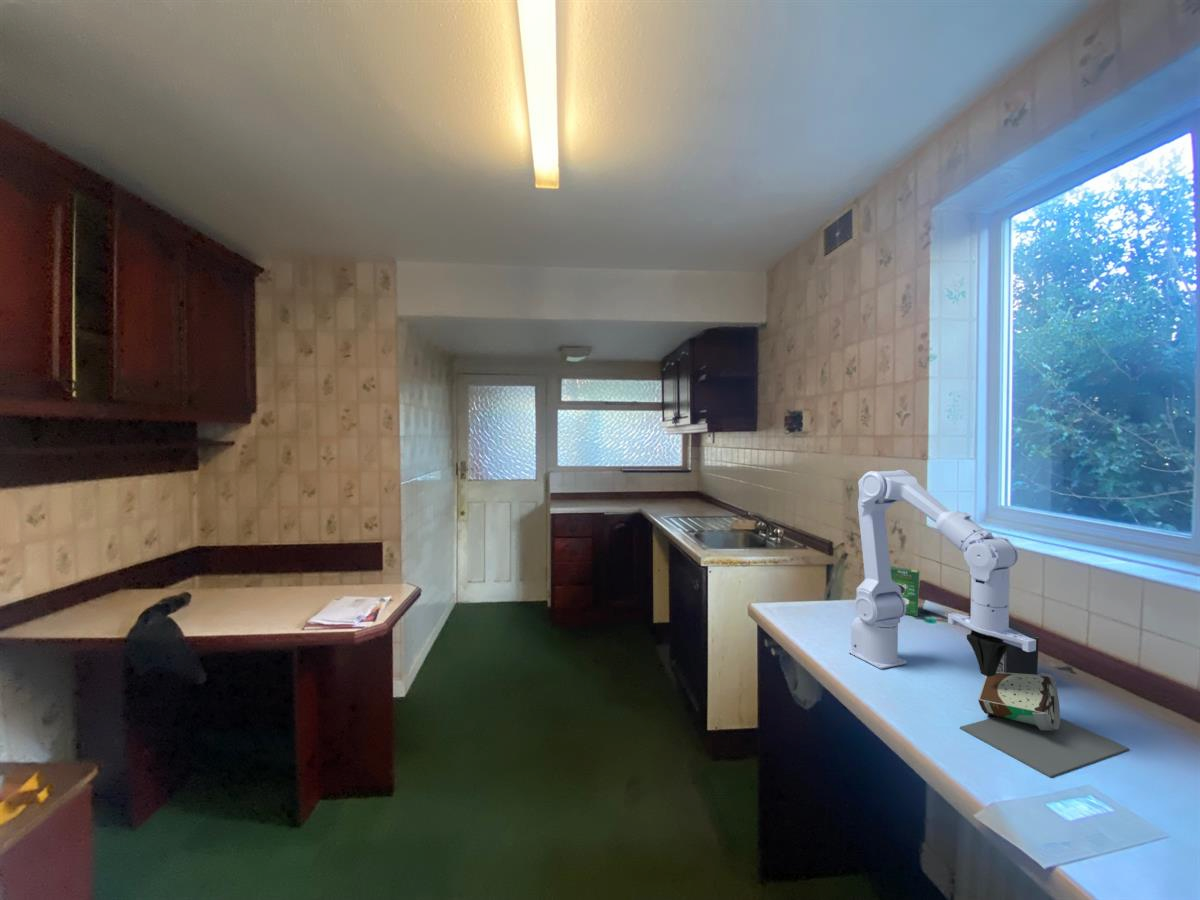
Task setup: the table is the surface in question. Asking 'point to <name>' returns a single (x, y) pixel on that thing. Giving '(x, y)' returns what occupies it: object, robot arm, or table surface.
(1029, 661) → the small box
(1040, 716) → the food container
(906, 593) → the coffee box
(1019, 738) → the mat
